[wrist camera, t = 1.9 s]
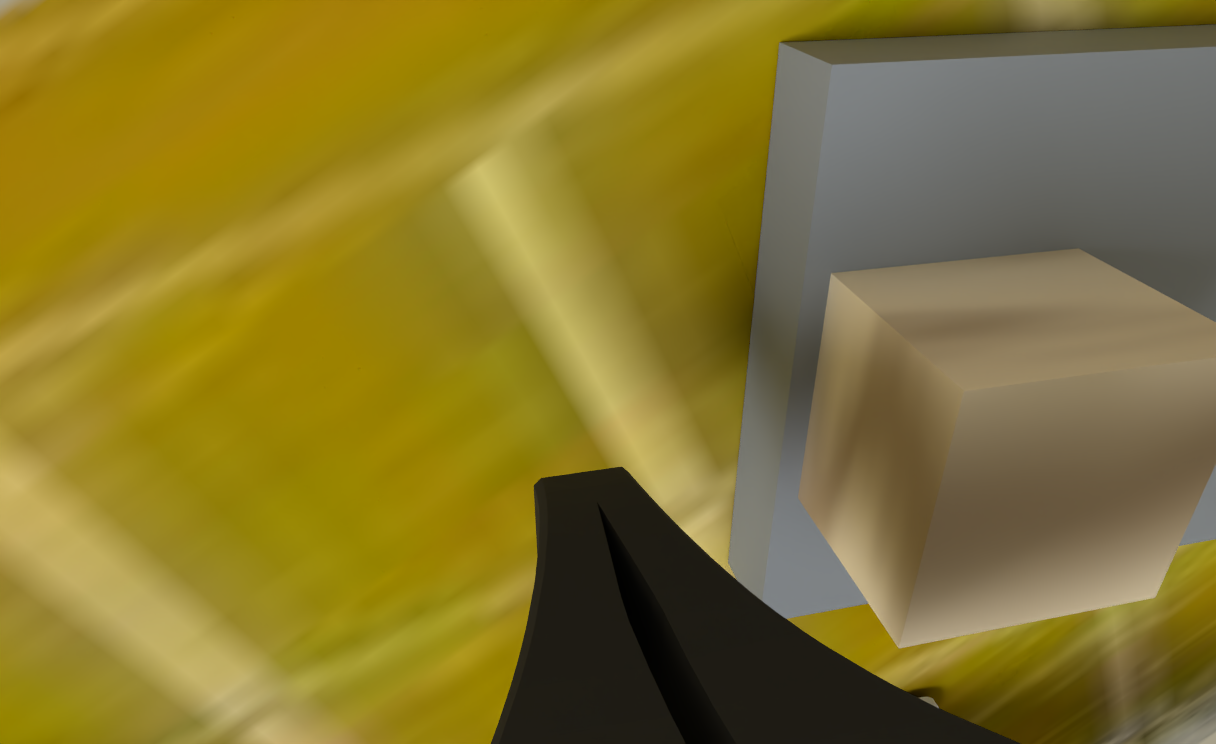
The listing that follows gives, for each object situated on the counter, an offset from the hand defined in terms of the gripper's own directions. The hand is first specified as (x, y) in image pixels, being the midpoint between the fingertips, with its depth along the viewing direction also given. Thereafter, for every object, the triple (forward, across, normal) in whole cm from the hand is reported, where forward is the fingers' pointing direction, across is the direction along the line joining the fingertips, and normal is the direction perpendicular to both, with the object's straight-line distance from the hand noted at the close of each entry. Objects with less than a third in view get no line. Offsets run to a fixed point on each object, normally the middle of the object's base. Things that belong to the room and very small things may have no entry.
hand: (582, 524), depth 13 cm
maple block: (+3, -8, 0) cm, 8 cm away
